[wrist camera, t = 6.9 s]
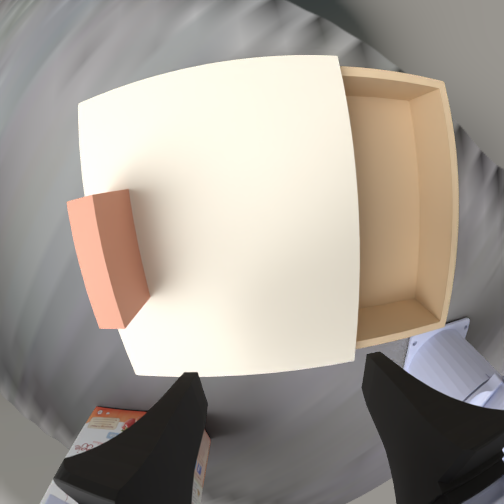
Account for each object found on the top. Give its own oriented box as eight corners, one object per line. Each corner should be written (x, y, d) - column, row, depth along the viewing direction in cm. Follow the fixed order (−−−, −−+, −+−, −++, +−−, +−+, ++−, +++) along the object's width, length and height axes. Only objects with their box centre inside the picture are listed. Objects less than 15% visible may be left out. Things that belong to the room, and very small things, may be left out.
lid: (351, 355, 16) (371, 397, 12) (139, 369, 17) (117, 409, 13) (334, 60, 11) (359, 25, 7) (83, 105, 12) (40, 92, 8)
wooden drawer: (414, 299, 20) (444, 326, 16) (256, 323, 21) (255, 362, 16) (408, 96, 16) (444, 81, 11) (227, 97, 17) (218, 73, 12)
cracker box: (196, 408, 24) (156, 592, 4) (212, 439, 26) (190, 595, 6) (93, 402, 25) (24, 528, 5) (115, 432, 27) (65, 550, 7)
